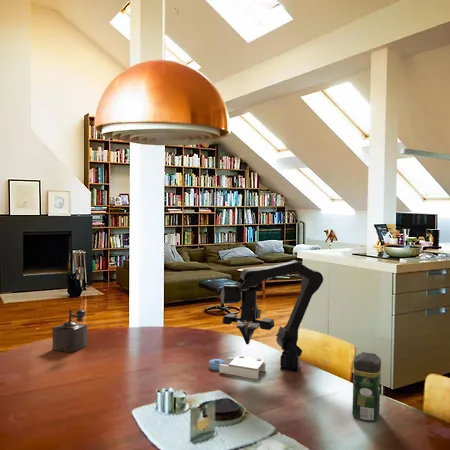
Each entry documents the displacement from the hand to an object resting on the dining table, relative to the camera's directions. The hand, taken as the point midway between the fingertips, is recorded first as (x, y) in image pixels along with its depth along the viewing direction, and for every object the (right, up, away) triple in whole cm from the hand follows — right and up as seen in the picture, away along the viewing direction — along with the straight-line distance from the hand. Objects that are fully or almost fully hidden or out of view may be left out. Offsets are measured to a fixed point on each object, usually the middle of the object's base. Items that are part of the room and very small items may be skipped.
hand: (247, 344), depth 179 cm
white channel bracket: (-2, -10, 0) cm, 11 cm away
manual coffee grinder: (-72, -8, +23) cm, 76 cm away
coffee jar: (+34, -13, -34) cm, 50 cm away
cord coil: (-12, -10, +4) cm, 16 cm away
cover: (0, -7, 0) cm, 7 cm away
